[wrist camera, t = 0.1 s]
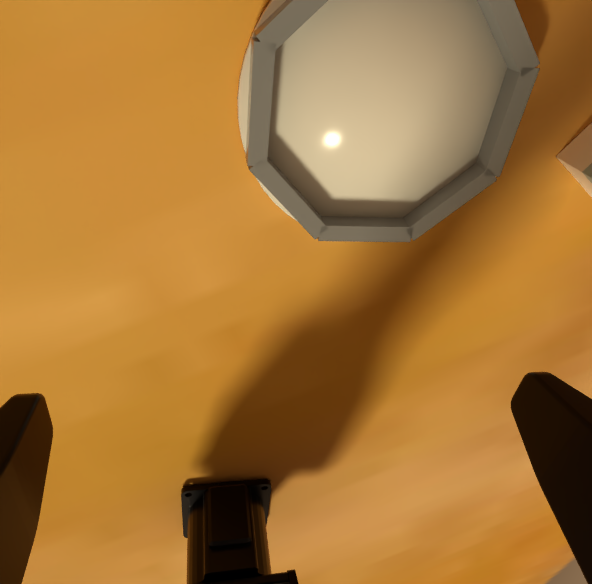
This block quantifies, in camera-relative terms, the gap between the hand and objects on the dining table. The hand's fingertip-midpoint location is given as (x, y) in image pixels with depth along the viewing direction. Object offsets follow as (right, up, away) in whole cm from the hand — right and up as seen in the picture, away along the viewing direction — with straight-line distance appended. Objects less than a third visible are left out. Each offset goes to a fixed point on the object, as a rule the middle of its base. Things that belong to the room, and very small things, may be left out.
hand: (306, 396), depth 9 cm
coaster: (+4, +10, +12) cm, 16 cm away
